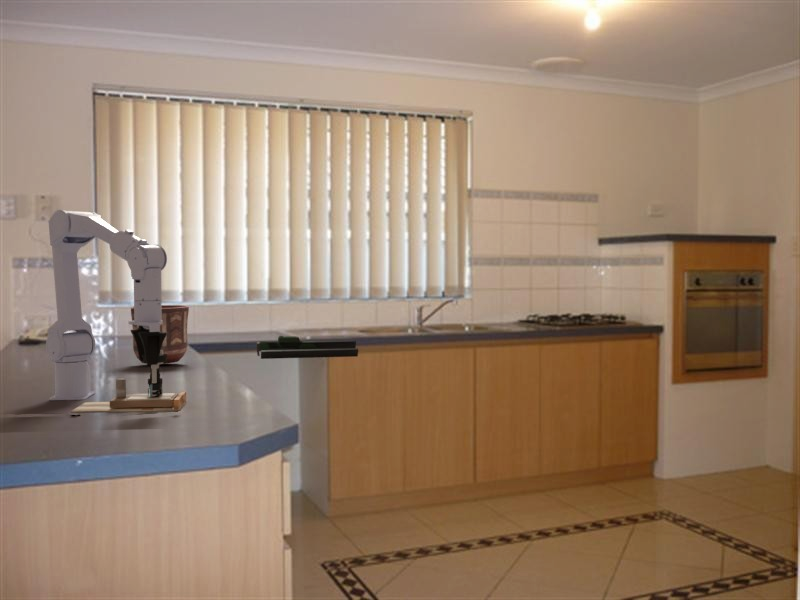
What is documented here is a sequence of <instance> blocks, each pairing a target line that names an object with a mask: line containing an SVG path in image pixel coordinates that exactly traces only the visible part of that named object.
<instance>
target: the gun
mask: <svg viewBox="0 0 800 600" xmlns="http://www.w3.org/2000/svg"><path fill="white" fill-rule="evenodd" d="M277 338H278V339H277V341H262V340H261V341H256V353H257V354H256V355H257V357H260V359H261V360H265V359H266V360H269V359H270V360H273V359H275V360H276V359H306V358H308V359H312V358H314V359H315V358H316V359H317V358H347V357H349V358H350V357H351V358H352V357H358V356H359V349H360V350H362V349H363V348H362V347H361V348H357V347H356V345H357V340H356V339H355V340H354V339H353V340H350V339H349V340H347V339H346V340H345V339H344V340H301V339H300V337H299V336H298V335H297V336H295V335H294V336H291V335H290V336H284V335H279V336H278V337H277Z"/></svg>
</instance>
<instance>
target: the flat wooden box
mask: <svg viewBox="0 0 800 600" xmlns="http://www.w3.org/2000/svg"><path fill="white" fill-rule="evenodd" d="M186 403H187V391H181V392H180V393H178V396H177V397H176V398H175V399H174V406H173V407H131V408H110V401H85V402H83V403H81V404H80V405H79V406H77V407H75V408H74V409H72V410H71V411H70V414H71V413H79V414H81V413H83V414H84V413H118V412H119V413H123V412H124V413H125V412H127V413H128V412H170V411H180V410H181V408H183V406H184V405H186Z"/></svg>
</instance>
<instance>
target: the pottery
mask: <svg viewBox="0 0 800 600" xmlns="http://www.w3.org/2000/svg"><path fill="white" fill-rule="evenodd" d="M189 312H190V307H189V306H188V305H179V304H178V305H177V304H176V305H174V304H173V305H172V304H166V305H165V304H162V320H163V324H161V325H160V332H166V333H167V334H166V337H165V339H164V341H163V343H162V346H161V350H163V353H164V354H168V356H167V357H166V362H163V364H162V365H164V364H171V363H172V364H173V363H177V362H179V361H181V359H182V358H183V357H184V356H185V354H186V352H187V349H188V320H189V319H188V317H189ZM130 315H131V321H134V306H132V307H130ZM138 328H139V327H137V325H134V324H133V325H132V330H135V329H138ZM132 348H133V349H132V350H133V353H134V355H135V356H136V358H137V359H138V361H140V358H139V355H138V350H137V345H136V342H135V339H134V337H133V336H132ZM140 363H142V364H146V363H145V362H143V361H140Z"/></svg>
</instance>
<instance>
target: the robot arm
mask: <svg viewBox="0 0 800 600" xmlns="http://www.w3.org/2000/svg"><path fill="white" fill-rule="evenodd" d="M48 230H49V231H48V232H49V234H48V235H49V243H50V245H49V246H51V253H52V264H53V265H52V266H53V277H54V291H55V292H54V293H55V302H56V303H55V305H56V314H57V320H56V321H55V322H54V323H53V324H52V325H50V326H49V327H48V328H47V331H46V332H47V338H46V341H45V350H46V351H45V352H46V354H47V355H48V357H49V358H50V360H51V362H54V392H55V393H54V395H53V396H51V397H50V398H49V399H48V400H49V401H79V400H80V401H81V400H83V401H84V400H87V399H88V398H90V397H92V396H93V395H94V394H96V391H92V379H91V378H92V377H91V370H92V369H91V367H90V366H91V365H90V364H89V363H88V360H91V356H92V355H93V354H94V352H95V350H96V339H95V337H94V334H93V330H92V325H91V324H90V323H88V322H87V321H86V320H85V319H84V318H83V313H82V304H81V303H82V301H81V290H80V275H79V265H78V264H79V263H78V252H79V250H80V249H81V248H83V247H85V246H87V245H88V244H89V243H90V242H92V241H93V240H94V239H96V238H97V239H98V240H101V241H103V242H105V243H107V244H109V250H110V251H111V252H112V253H113V254H115V255H116V256H118V257H119V258H121V259H123V260H124V261H126V262H127V265H128V267H129V269H130V275H131V276H130V277H131V279H132V280H133V307H134V321H132V320H128V325H133V324H134V325H137V327H139V328H138V329H135V330H133V329H130V332H131V335H132V338H133V337H134V339H135V342H136V345H137V350H138V355H139V358H140V360H139V361H140V362H141V361H143V357H142V355H144V354H145V359H146V363H147V364H146V363H145V364H146V365H147V366H151V365H157V364H158V360H159V355H160V350H161V346H162V343H163V341H164V339H165V337H166V334H167V333H166V332H160V325H161V324H163V320H162V305H163V303H162V271H163V270H164V269H165V268H166V265H167V263H168V257H167V256H168V255H167V252H166V250H165V249H164V248H163V247H162V245H160V244H153V245H150V244H149V243H148V241H147V239H143V238H140V237H138V236H136V235H135V234H134V233H135V231H133V230H131V229H121V230H118V229H116V228H115V227H113V226H112V225H110V224H109V223H108V222H106V220H104V219H103V217H102V215H100V214H98V213H97V212H95V211H77V210H76V211H75V210H63V209H57V210H55V211H54V212H53V213H52V215H51V217H50V218H49V220H48ZM68 331H73V332H68Z"/></svg>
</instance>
